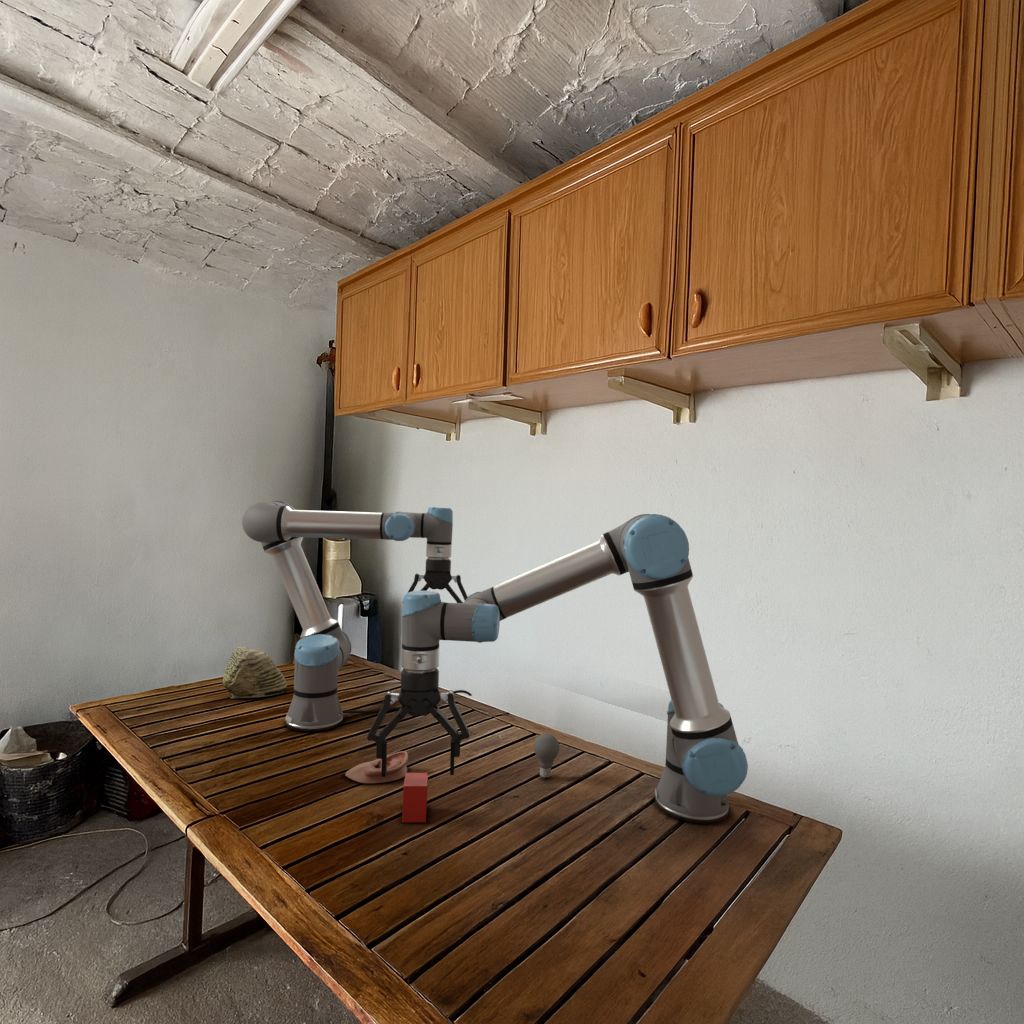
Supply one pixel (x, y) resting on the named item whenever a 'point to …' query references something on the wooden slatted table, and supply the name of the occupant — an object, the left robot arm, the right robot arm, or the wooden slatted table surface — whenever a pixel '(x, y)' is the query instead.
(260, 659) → the fossil
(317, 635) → the left robot arm
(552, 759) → the light bulb
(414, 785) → the block
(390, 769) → the anatomical model
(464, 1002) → the wooden slatted table surface
